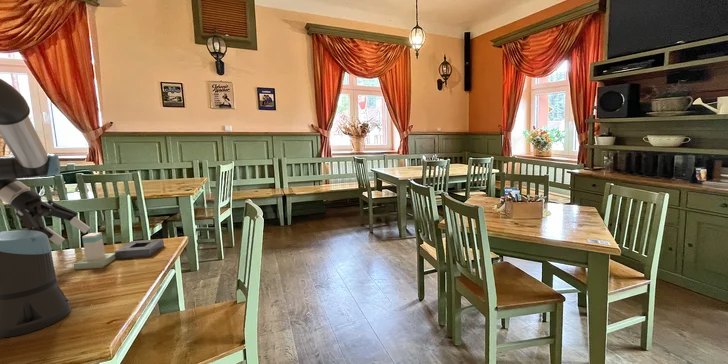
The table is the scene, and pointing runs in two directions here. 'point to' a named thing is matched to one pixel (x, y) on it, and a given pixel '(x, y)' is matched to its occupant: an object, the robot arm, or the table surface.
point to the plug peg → (93, 246)
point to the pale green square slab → (95, 262)
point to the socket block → (139, 249)
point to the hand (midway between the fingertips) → (75, 236)
